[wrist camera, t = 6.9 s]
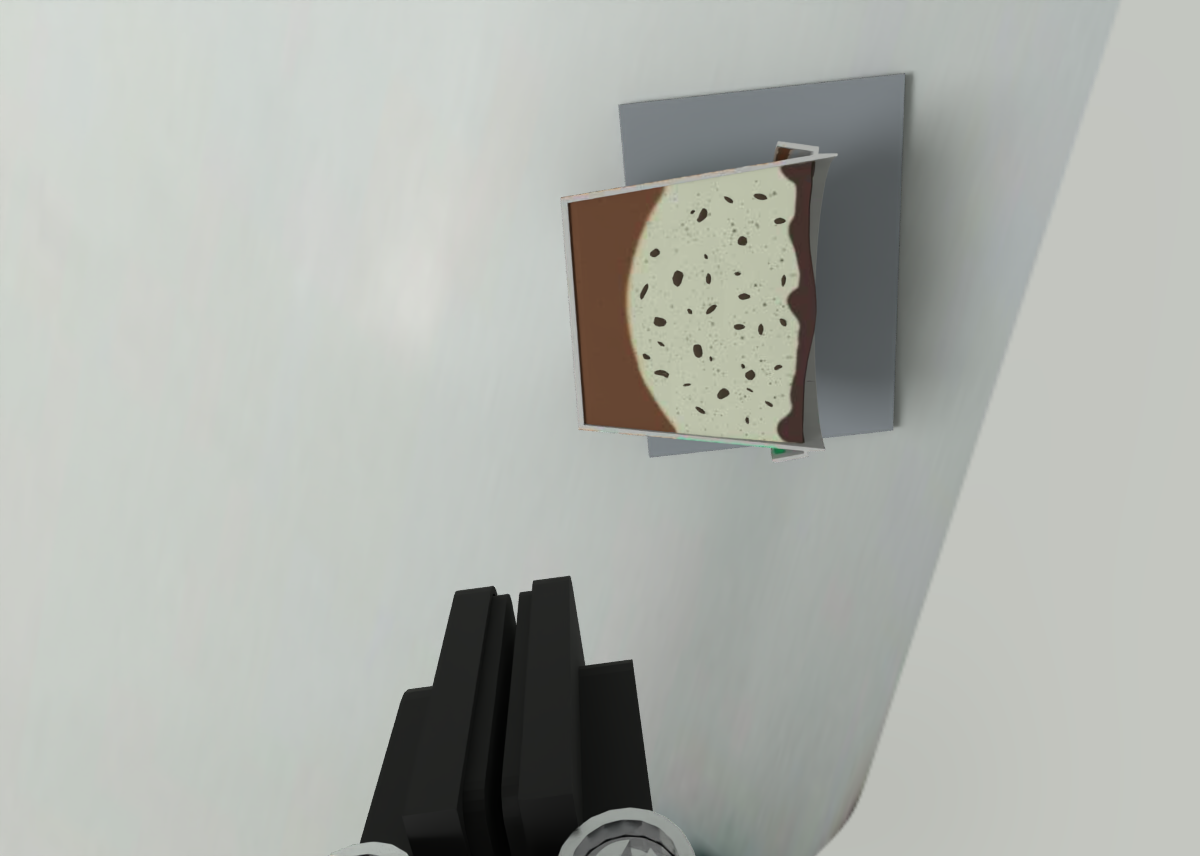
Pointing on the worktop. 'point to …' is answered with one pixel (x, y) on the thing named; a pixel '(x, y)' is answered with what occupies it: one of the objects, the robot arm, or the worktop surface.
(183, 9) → the worktop surface
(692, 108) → the mat
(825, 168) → the food container
